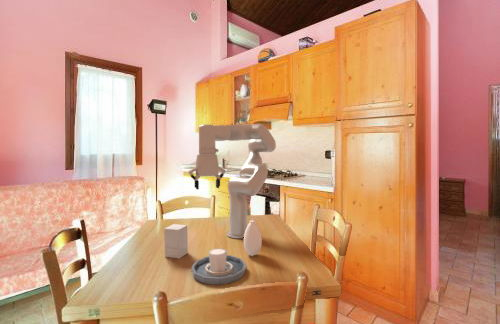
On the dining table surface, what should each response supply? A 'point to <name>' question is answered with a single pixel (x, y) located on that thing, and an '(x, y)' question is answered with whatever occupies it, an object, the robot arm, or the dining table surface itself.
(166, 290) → the dining table surface
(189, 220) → the dining table surface
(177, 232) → the supplement box
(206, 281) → the round tray
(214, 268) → the pale cup
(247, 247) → the air blower bulb
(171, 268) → the dining table surface
